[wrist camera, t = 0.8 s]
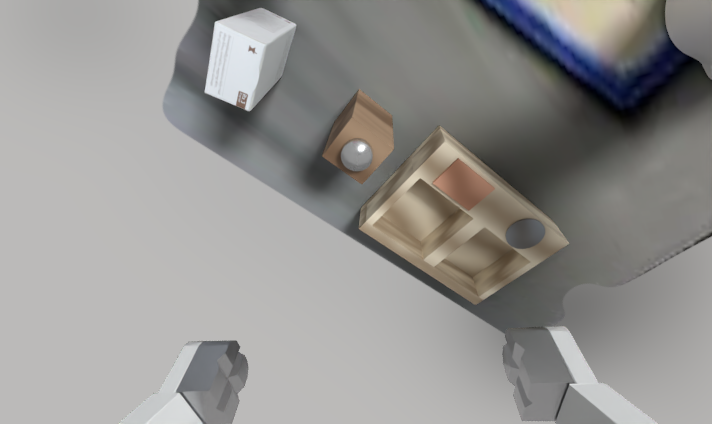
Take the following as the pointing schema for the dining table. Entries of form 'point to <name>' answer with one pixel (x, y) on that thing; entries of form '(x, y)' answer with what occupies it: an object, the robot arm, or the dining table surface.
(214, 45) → the skincare box
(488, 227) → the tag socket block
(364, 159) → the plug
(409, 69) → the dining table surface
